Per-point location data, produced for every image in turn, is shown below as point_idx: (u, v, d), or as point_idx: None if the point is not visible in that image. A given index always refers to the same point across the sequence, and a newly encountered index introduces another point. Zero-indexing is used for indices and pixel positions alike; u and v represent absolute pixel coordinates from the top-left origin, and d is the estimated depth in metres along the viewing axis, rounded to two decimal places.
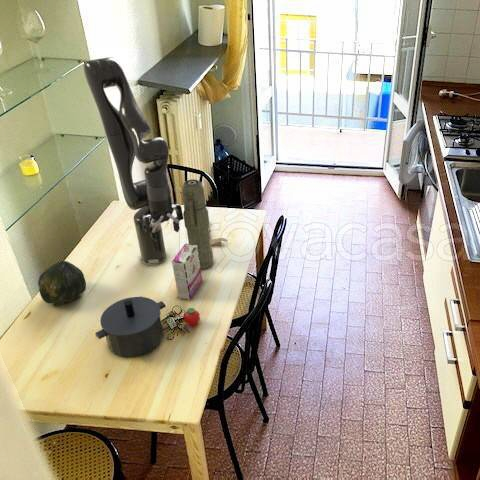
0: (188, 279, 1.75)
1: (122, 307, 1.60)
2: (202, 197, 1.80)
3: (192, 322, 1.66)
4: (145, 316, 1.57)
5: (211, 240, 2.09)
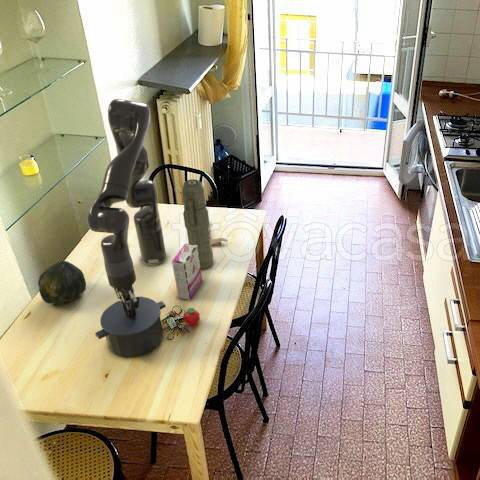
0: (188, 279, 1.75)
1: (122, 307, 1.60)
2: (202, 197, 1.80)
3: (192, 322, 1.66)
4: (145, 316, 1.57)
5: (211, 240, 2.09)
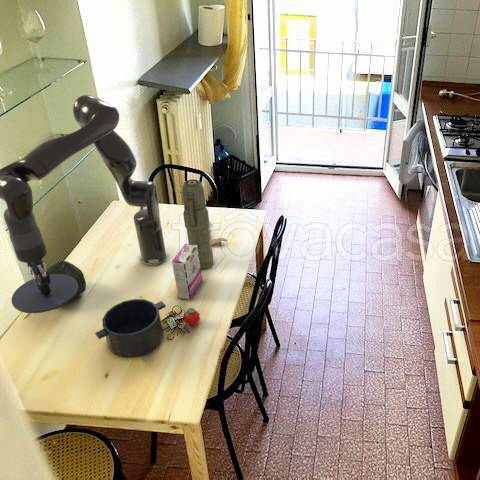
0: (188, 279, 1.75)
1: None
2: (202, 197, 1.80)
3: (192, 322, 1.66)
4: (60, 293, 1.49)
5: (211, 240, 2.09)
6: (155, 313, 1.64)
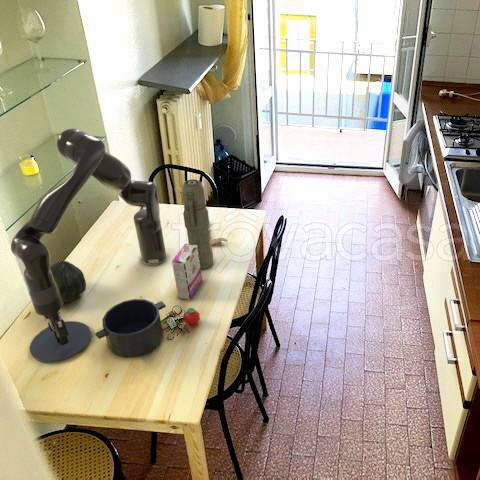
0: (188, 279, 1.75)
1: (53, 332, 1.63)
2: (202, 197, 1.80)
3: (192, 322, 1.66)
4: (74, 341, 1.60)
5: (211, 240, 2.09)
6: (155, 313, 1.64)
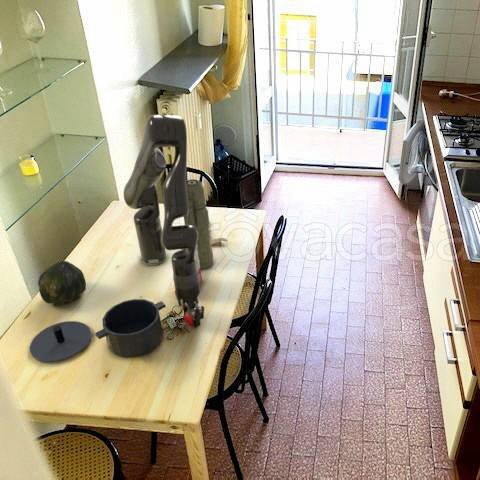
0: None
1: (53, 332, 1.63)
2: (202, 197, 1.80)
3: (192, 322, 1.66)
4: (74, 341, 1.60)
5: (211, 240, 2.09)
6: (155, 313, 1.64)
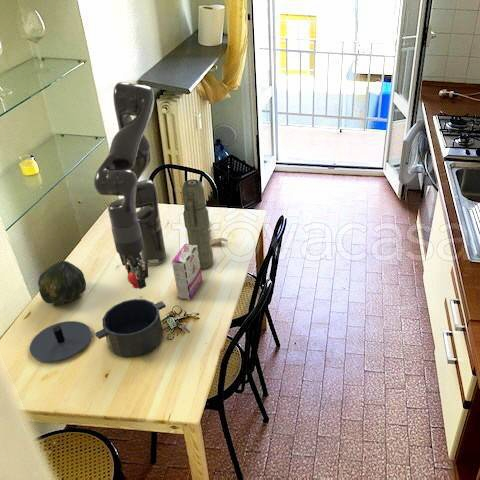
0: (188, 279, 1.75)
1: (53, 332, 1.63)
2: (202, 197, 1.80)
3: (136, 282, 1.50)
4: (74, 341, 1.60)
5: (211, 240, 2.09)
6: (155, 313, 1.64)
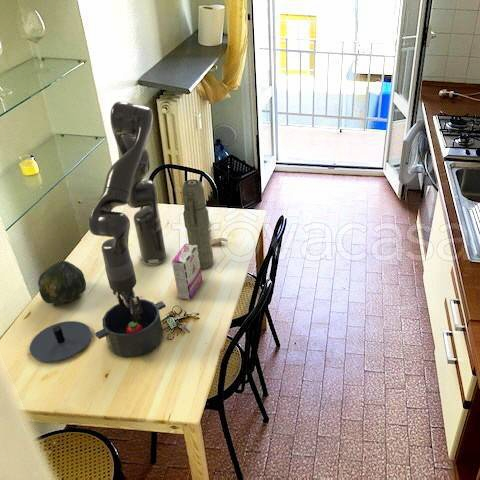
0: (188, 279, 1.75)
1: (53, 332, 1.63)
2: (202, 197, 1.80)
3: None
4: (74, 341, 1.60)
5: (211, 240, 2.09)
6: (155, 313, 1.64)
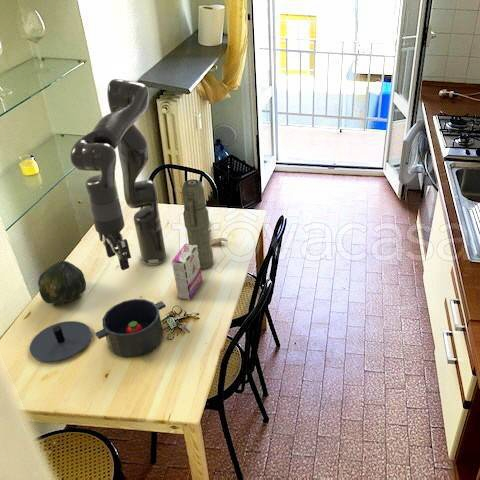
0: (188, 279, 1.75)
1: (53, 332, 1.63)
2: (202, 197, 1.80)
3: None
4: (74, 341, 1.60)
5: (211, 240, 2.09)
6: (155, 313, 1.64)
